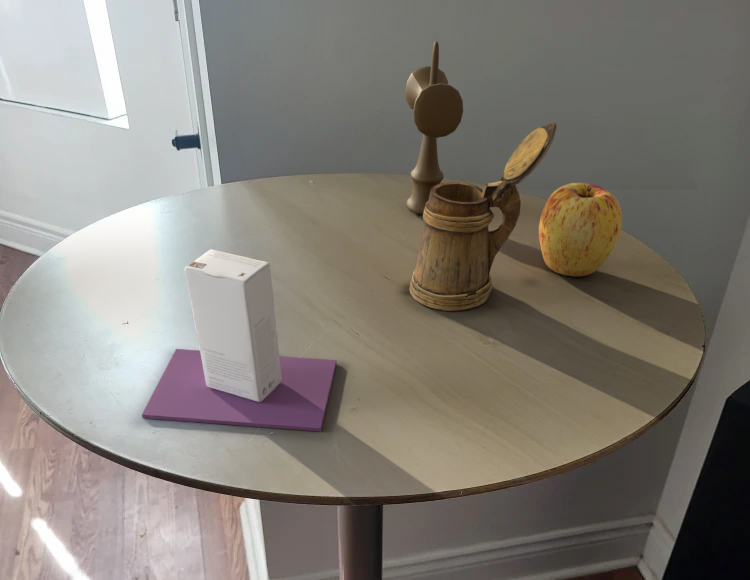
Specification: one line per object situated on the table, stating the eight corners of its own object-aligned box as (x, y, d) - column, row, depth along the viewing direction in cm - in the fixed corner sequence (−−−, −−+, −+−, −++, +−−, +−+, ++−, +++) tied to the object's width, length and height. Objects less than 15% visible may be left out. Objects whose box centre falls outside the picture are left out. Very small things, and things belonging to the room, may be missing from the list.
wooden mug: (536, 311, 85) (568, 138, 72) (413, 311, 84) (424, 136, 72) (521, 273, 91) (548, 109, 79) (406, 273, 90) (416, 107, 78)
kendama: (407, 226, 100) (417, 52, 87) (397, 196, 107) (405, 31, 94) (453, 225, 101) (470, 51, 87) (440, 195, 108) (454, 31, 94)
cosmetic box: (283, 381, 73) (275, 259, 65) (259, 406, 70) (247, 282, 62) (227, 365, 75) (212, 244, 66) (201, 389, 72) (182, 266, 63)
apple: (607, 257, 95) (628, 174, 88) (610, 292, 88) (632, 205, 82) (533, 250, 96) (547, 167, 89) (530, 283, 89) (545, 197, 83)
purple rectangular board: (142, 418, 69) (141, 414, 69) (176, 352, 77) (175, 348, 77) (320, 431, 68) (320, 428, 68) (336, 363, 76) (336, 359, 76)
